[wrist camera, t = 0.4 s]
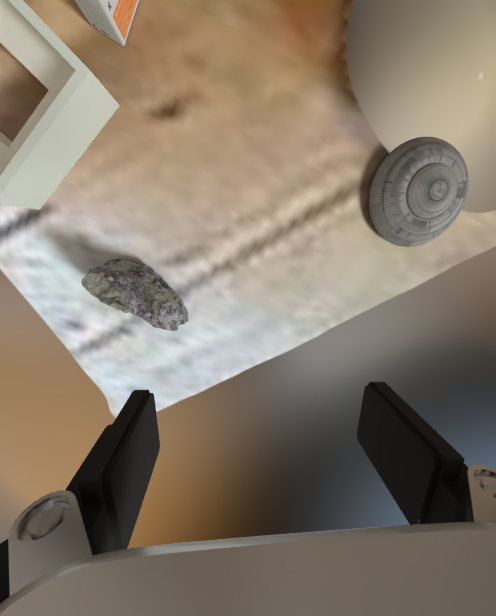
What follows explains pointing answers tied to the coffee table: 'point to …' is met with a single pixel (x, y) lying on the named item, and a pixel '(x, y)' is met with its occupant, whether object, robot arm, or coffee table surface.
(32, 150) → the peg box
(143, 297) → the mineral rock
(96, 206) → the coffee table surface
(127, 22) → the skincare box
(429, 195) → the flying saucer
